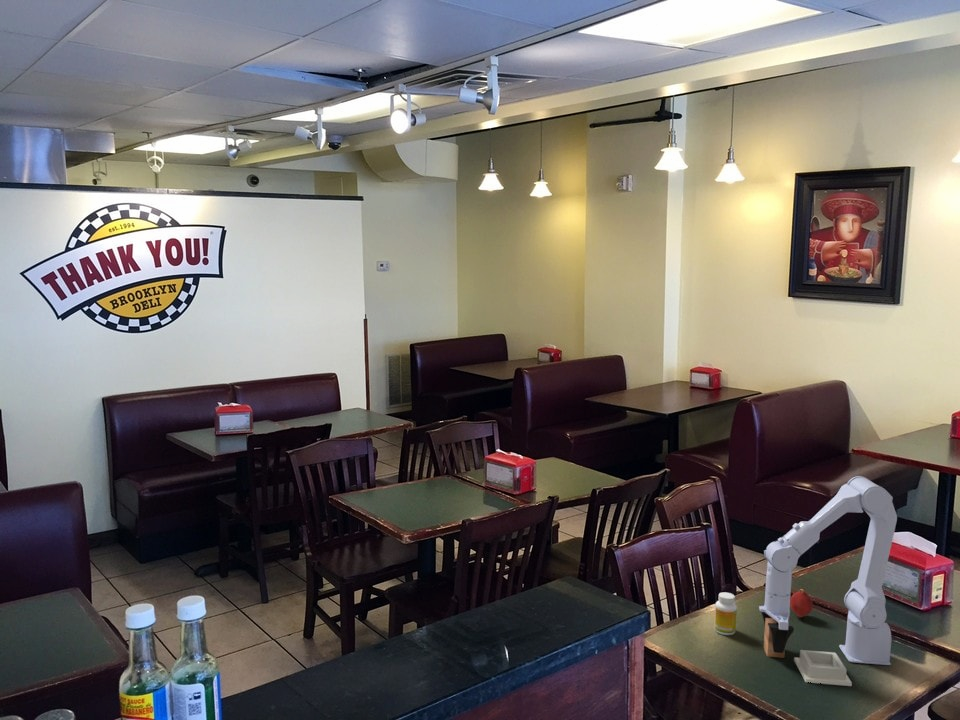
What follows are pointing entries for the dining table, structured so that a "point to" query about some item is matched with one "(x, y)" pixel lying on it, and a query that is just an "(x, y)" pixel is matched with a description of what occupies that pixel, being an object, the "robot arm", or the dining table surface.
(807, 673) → the socket
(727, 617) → the supplement bottle
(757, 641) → the dining table surface
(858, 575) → the robot arm
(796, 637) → the dining table surface
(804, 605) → the onion
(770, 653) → the peg
